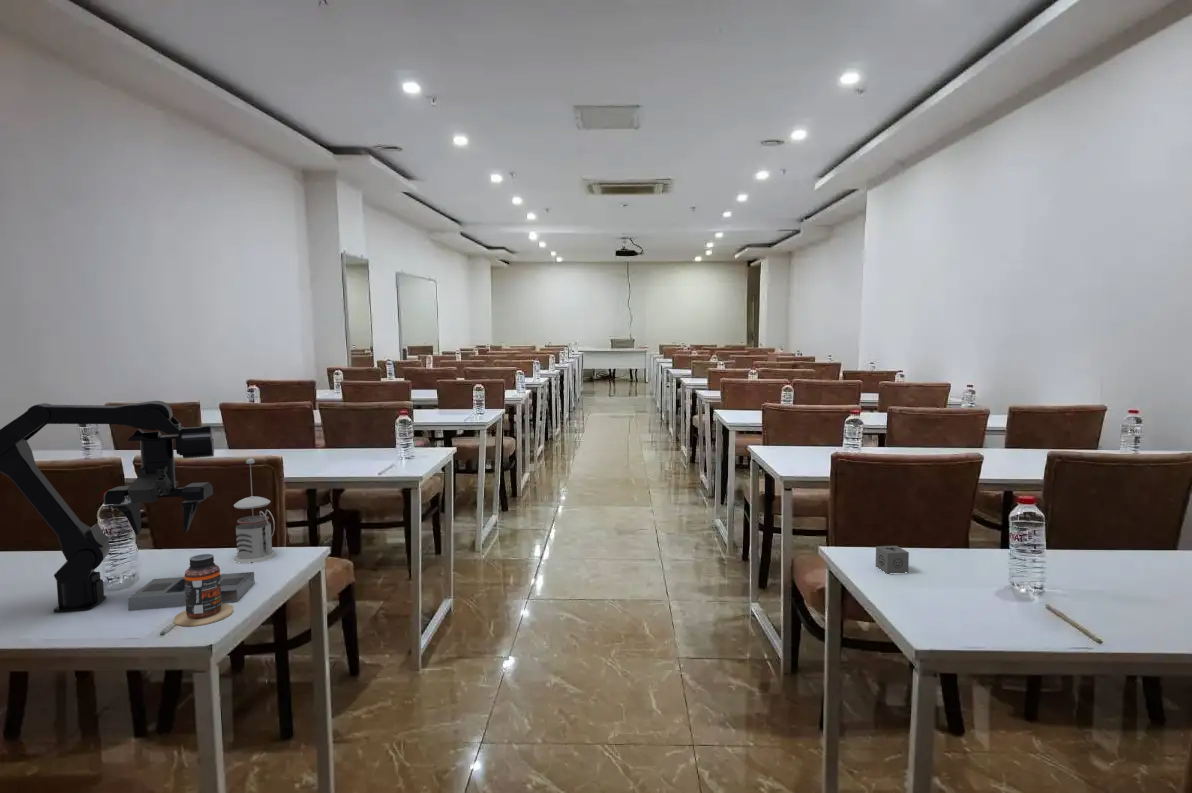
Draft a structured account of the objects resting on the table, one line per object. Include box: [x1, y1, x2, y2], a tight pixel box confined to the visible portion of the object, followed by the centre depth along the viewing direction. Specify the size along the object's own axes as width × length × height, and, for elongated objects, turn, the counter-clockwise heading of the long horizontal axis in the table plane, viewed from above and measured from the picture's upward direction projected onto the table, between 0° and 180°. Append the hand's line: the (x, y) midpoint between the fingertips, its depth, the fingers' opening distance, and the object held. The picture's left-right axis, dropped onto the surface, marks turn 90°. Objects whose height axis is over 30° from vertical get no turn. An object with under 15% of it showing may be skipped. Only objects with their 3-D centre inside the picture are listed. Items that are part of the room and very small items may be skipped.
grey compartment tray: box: [127, 571, 256, 611], centre depth 136 cm, size 20×11×2 cm, turn 101°
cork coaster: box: [173, 603, 235, 627], centre depth 126 cm, size 10×10×1 cm
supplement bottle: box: [184, 553, 222, 618], centre depth 125 cm, size 6×6×11 cm
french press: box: [233, 458, 277, 564], centre depth 160 cm, size 10×12×25 cm
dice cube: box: [875, 545, 910, 575], centre depth 148 cm, size 5×5×5 cm
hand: (162, 533), depth 137 cm, fingers open, 9 cm apart
